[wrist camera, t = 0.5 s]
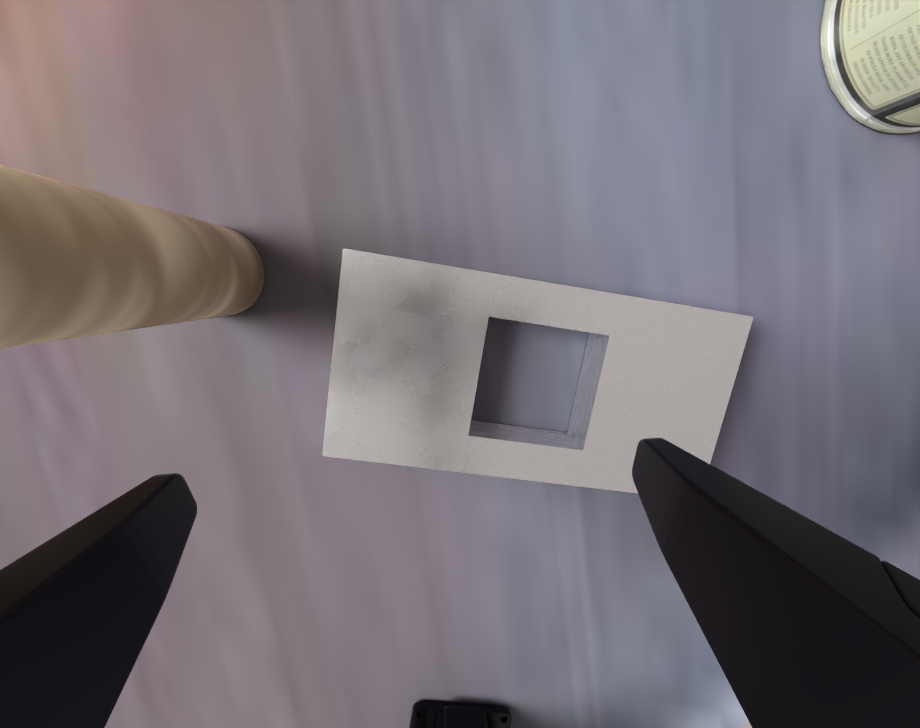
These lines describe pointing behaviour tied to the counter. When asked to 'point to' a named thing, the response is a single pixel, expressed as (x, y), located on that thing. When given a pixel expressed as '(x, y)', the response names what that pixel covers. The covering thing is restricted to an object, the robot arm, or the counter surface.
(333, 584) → the counter surface
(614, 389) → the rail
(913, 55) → the coffee can
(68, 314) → the peg
